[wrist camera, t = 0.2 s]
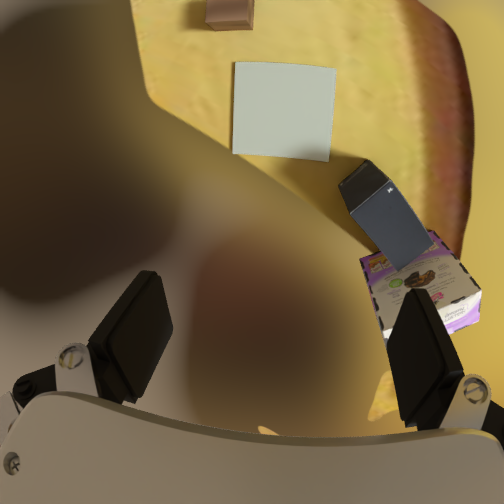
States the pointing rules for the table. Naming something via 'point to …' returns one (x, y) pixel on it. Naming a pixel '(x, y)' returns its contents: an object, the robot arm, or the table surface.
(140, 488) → the robot arm
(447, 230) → the table surface
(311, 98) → the mat
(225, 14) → the cube
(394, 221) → the small box
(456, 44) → the table surface
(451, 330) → the candy box
